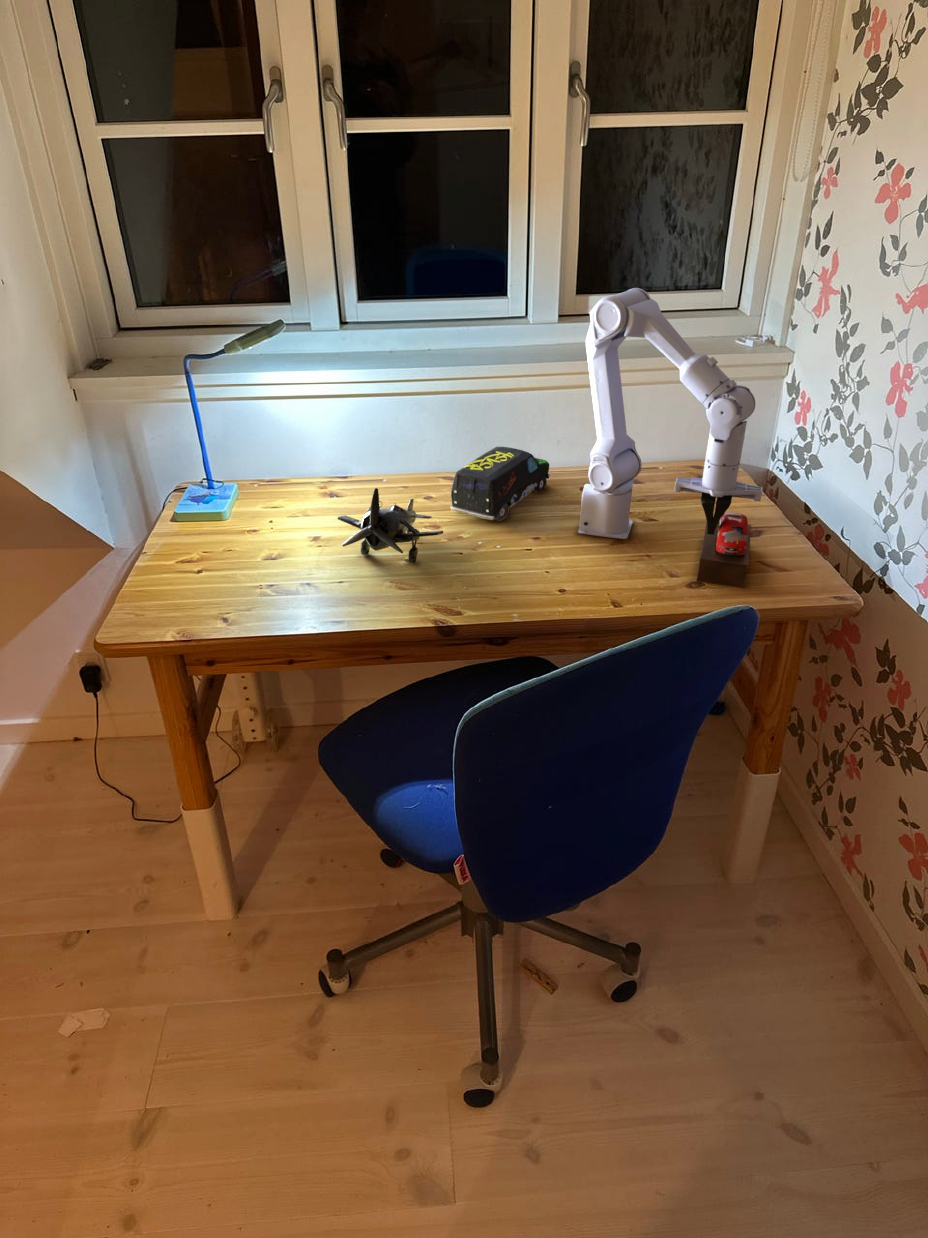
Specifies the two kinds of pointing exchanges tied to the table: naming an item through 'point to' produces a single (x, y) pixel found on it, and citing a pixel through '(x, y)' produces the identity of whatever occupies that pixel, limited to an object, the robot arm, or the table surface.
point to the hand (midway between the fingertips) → (710, 532)
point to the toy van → (497, 482)
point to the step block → (722, 563)
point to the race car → (732, 534)
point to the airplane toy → (387, 528)
